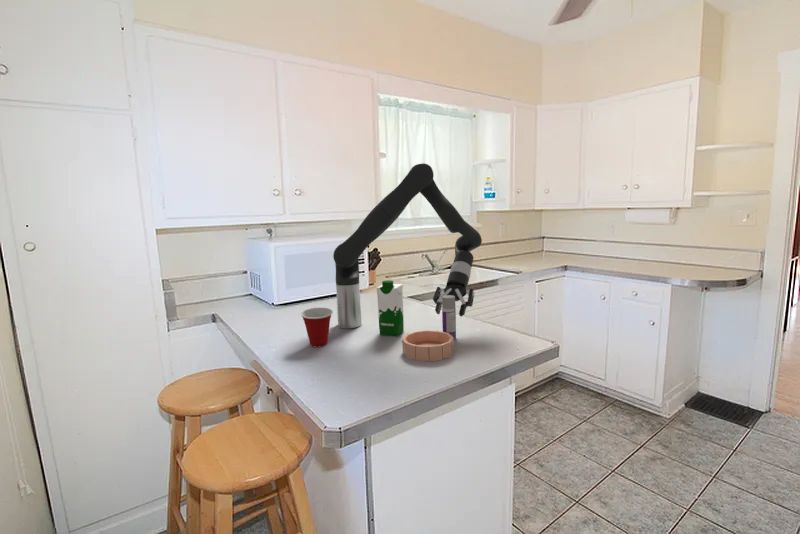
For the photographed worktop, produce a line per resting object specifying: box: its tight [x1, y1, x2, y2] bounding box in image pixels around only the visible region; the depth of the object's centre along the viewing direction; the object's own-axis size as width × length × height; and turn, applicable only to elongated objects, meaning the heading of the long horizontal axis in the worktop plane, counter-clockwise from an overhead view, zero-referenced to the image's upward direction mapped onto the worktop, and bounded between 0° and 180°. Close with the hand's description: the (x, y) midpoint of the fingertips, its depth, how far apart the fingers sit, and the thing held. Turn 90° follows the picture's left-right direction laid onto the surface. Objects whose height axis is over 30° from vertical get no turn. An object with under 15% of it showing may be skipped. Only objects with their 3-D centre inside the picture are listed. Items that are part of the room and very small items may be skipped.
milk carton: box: [376, 279, 405, 337], centre depth 149 cm, size 9×9×20 cm
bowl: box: [401, 329, 455, 362], centre depth 130 cm, size 16×16×4 cm
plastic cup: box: [300, 307, 333, 348], centre depth 140 cm, size 11×11×12 cm
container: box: [441, 295, 457, 340], centre depth 141 cm, size 5×5×15 cm
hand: (448, 314), depth 141 cm, fingers open, 8 cm apart
